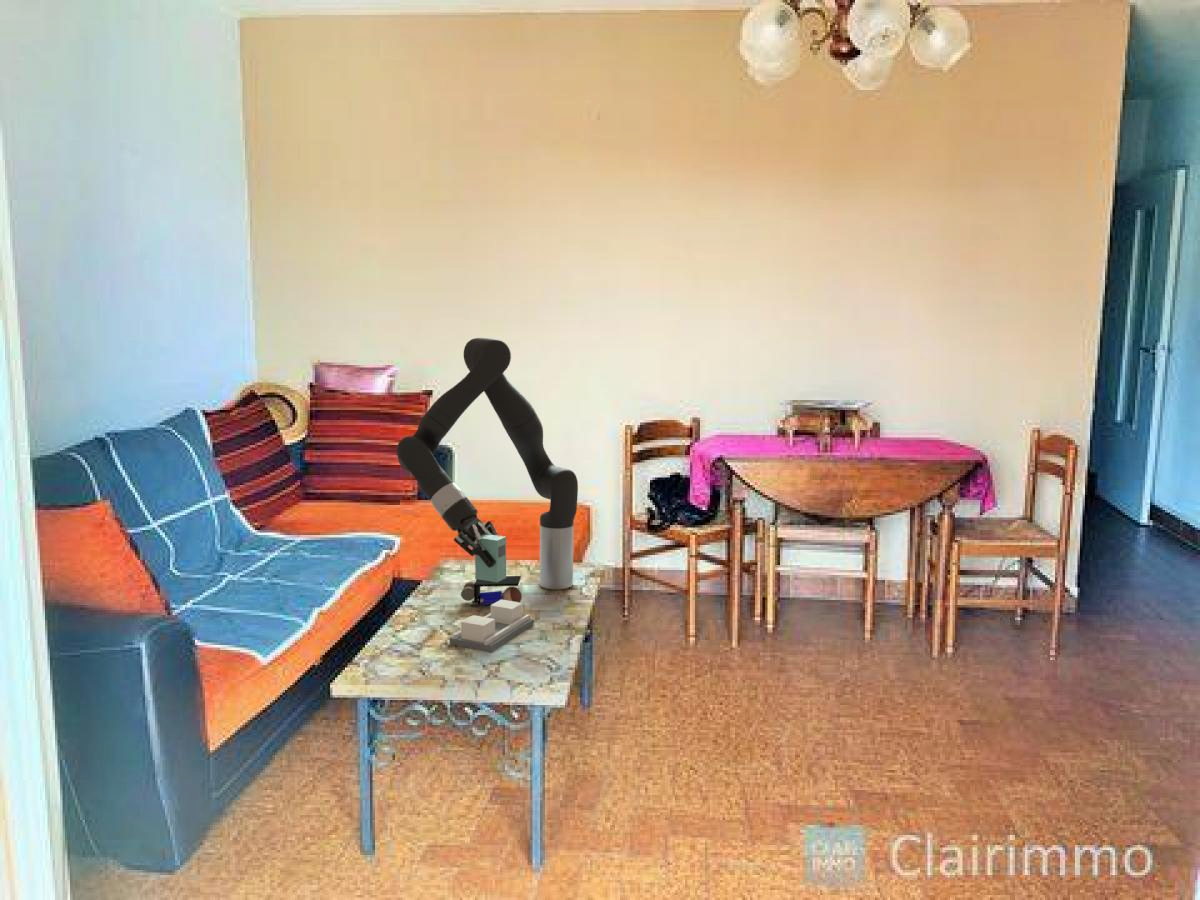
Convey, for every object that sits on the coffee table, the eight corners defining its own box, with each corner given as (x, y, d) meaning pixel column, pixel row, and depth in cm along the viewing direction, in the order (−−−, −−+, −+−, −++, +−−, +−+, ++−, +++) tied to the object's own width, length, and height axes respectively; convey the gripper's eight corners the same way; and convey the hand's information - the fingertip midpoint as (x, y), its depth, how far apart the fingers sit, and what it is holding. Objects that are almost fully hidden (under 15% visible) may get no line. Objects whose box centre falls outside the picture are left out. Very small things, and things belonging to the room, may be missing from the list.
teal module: (484, 574, 227) (484, 533, 225) (506, 577, 224) (506, 536, 222) (475, 578, 223) (474, 537, 221) (497, 582, 221) (497, 540, 219)
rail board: (494, 618, 237) (494, 608, 236) (533, 625, 232) (533, 615, 232) (449, 644, 219) (449, 633, 219) (490, 652, 214) (490, 641, 214)
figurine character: (462, 614, 244) (521, 609, 243) (458, 585, 243) (517, 580, 242) (466, 605, 250) (523, 600, 250) (463, 577, 249) (520, 572, 249)
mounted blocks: (501, 614, 235) (501, 599, 234) (522, 618, 232) (522, 603, 232) (461, 638, 219) (461, 621, 218) (483, 642, 216) (483, 625, 215)
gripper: (445, 502, 217) (491, 561, 214) (479, 491, 230) (523, 546, 227) (427, 522, 220) (472, 580, 217) (461, 510, 233) (504, 564, 230)
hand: (497, 562), depth 222 cm, fingers closed on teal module, 4 cm apart
